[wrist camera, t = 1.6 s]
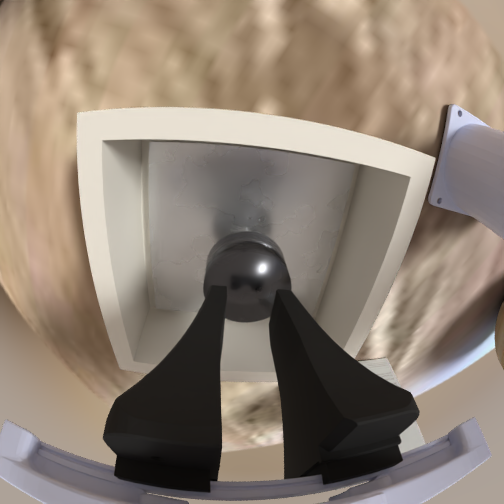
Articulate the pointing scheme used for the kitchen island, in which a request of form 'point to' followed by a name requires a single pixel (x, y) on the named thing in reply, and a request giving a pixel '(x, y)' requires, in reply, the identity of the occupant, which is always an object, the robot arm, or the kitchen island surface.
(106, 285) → the white square storage bin
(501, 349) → the decorative ball
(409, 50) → the kitchen island surface
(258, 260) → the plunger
